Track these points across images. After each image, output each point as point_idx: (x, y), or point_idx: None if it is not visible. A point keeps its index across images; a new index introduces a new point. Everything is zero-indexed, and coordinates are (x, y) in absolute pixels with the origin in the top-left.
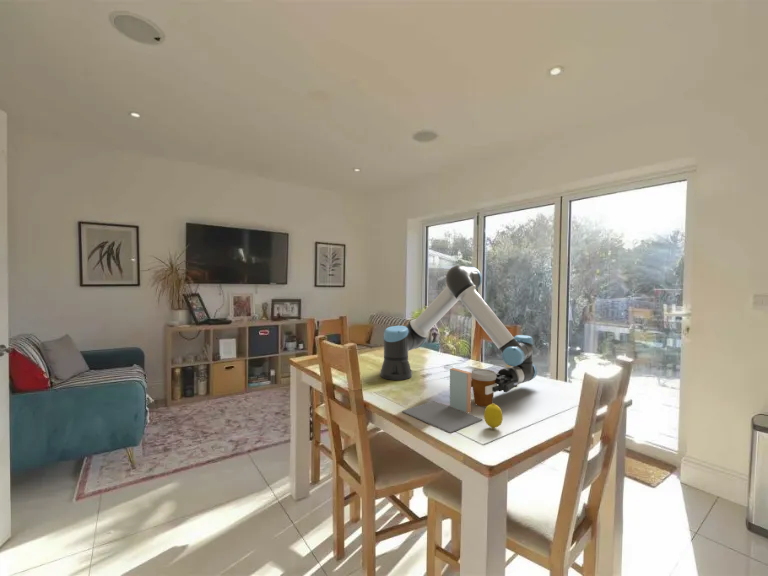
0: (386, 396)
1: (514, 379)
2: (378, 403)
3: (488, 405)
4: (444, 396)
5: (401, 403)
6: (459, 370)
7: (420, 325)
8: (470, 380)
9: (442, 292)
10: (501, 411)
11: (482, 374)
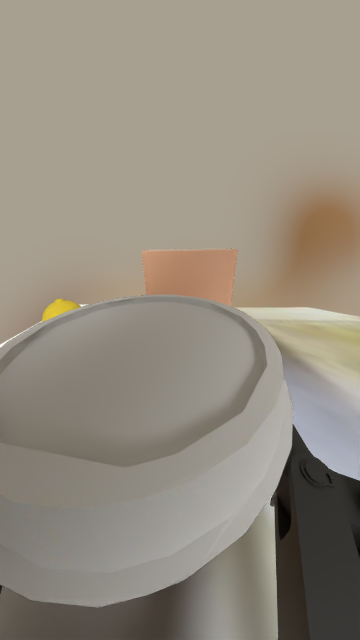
0: (331, 324)
1: None
2: (286, 309)
3: (73, 303)
4: (328, 415)
5: (277, 323)
6: (192, 249)
7: None
8: (146, 283)
9: None
10: (42, 317)
11: (132, 316)
